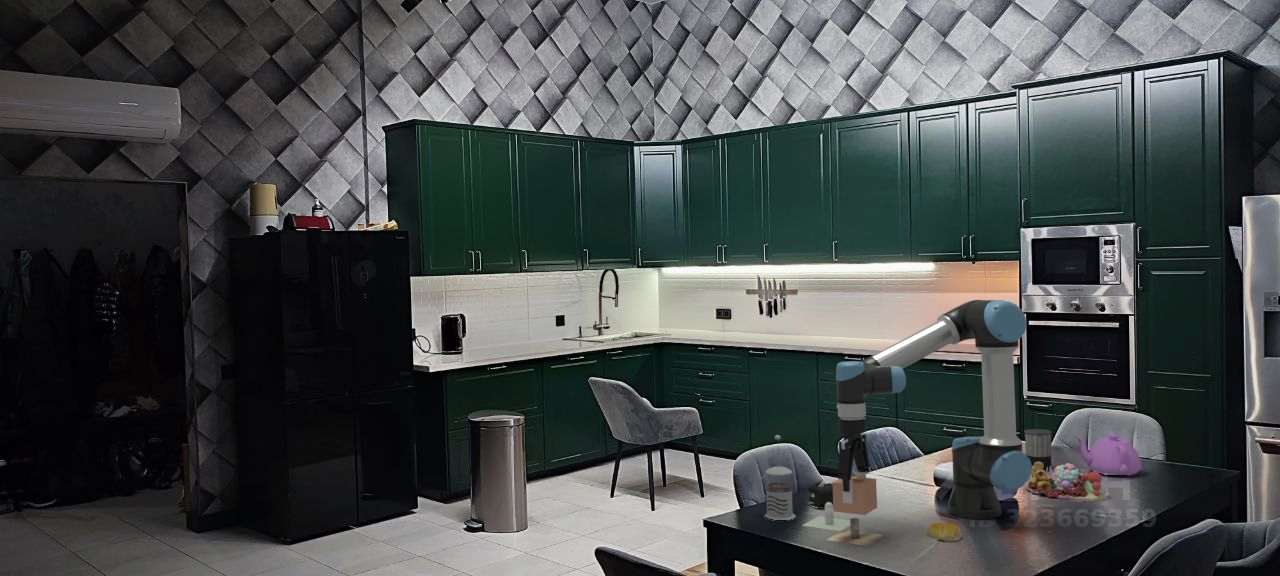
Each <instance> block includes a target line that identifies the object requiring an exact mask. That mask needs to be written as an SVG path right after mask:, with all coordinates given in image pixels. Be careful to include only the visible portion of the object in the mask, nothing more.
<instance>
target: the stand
mask: <svg viewBox="0 0 1280 576" xmlns="http://www.w3.org/2000/svg"><path fill="white" fill-rule="evenodd" d="M849 520H850V526H849V527H850V530H849V529H843V530H842V531H837V532H836V533H835V534H833V535H832V536H830V537H828V538H827V539H825V540H826V541H830V542H837V543H842V544H843V543H844V544H849V545H857V546H863V547H869V546H871V545H872V544H874V543H875V542H876V541H878V540H879V539H881V538H882V537H884V535H885V534H884V535H883V534H877V533H871V532H870V533H869V532H864V531H860V518H855V517H854V518H850V519H849Z"/></svg>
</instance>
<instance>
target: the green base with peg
mask: <svg viewBox="0 0 1280 576" xmlns="http://www.w3.org/2000/svg"><path fill="white" fill-rule="evenodd" d="M801 526H802V527H809V528H816V529H823V530H830V531H836V532H840V531H842V530H843V529H844V530H846V529H847V528H849V527H850V519H841V518H834V508H833V504H832V503H830V502H827V503H826V504H825V507H824V516H821V515H820V516H819V515H818V516H816V517H815V518H813V519H811V520H809V521H808V522H805V523H804V524H802V525H801Z"/></svg>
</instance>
